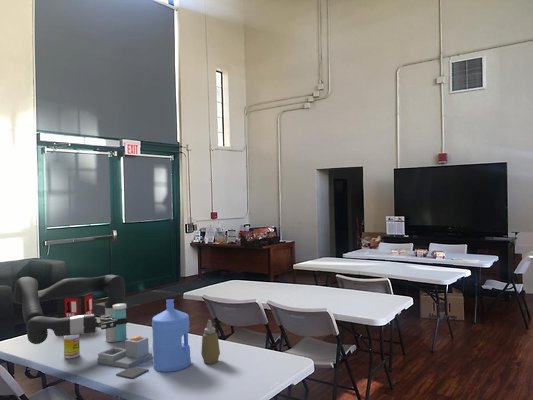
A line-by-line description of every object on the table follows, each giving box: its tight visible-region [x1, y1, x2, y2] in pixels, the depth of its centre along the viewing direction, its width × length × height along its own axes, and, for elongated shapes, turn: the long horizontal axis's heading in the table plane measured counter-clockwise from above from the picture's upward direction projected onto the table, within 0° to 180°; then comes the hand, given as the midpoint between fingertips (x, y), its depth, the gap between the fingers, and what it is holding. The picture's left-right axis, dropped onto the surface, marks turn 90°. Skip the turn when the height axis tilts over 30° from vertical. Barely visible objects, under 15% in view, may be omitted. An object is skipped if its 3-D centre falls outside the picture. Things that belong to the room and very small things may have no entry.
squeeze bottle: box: [201, 319, 221, 365], centre depth 188 cm, size 8×8×18 cm
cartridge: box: [113, 303, 128, 342], centre depth 181 cm, size 5×5×14 cm
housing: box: [96, 336, 153, 369], centre depth 194 cm, size 14×19×9 cm
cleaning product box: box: [56, 292, 95, 318], centre depth 246 cm, size 16×9×20 cm, turn 81°
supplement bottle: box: [63, 335, 81, 359], centre depth 202 cm, size 7×7×13 cm
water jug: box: [151, 298, 192, 373], centre depth 185 cm, size 16×16×28 cm
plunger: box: [132, 335, 142, 341], centre depth 195 cm, size 4×4×5 cm
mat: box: [115, 366, 149, 380], centre depth 179 cm, size 9×9×1 cm
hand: (126, 319), depth 182 cm, fingers closed on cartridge, 4 cm apart
